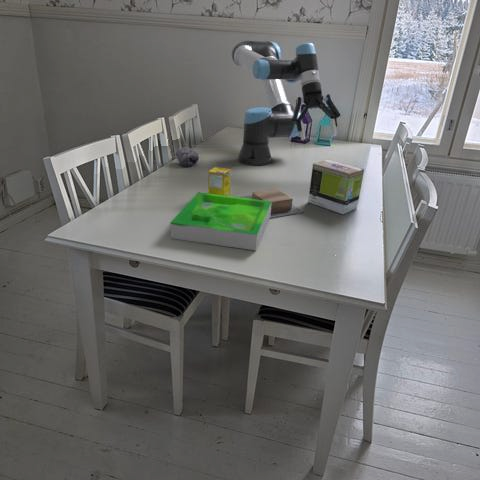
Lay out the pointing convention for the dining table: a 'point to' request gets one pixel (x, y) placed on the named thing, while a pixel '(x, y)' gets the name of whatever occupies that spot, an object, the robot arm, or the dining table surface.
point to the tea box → (335, 186)
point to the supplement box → (219, 181)
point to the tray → (222, 220)
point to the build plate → (276, 202)
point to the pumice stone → (187, 156)
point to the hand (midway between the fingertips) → (319, 137)
